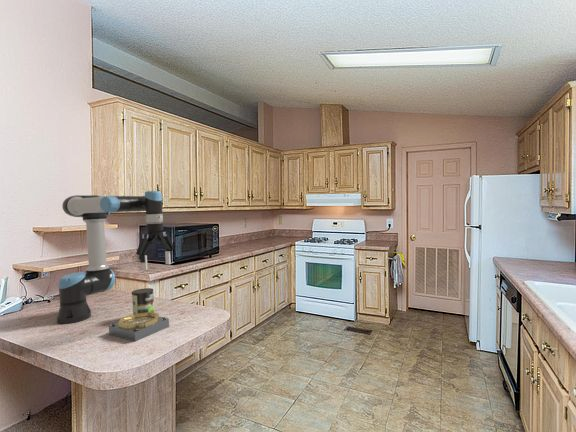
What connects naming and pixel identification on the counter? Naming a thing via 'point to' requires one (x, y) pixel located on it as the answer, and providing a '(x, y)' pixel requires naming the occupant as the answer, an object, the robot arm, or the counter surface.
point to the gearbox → (138, 326)
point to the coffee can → (143, 300)
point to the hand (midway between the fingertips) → (157, 266)
